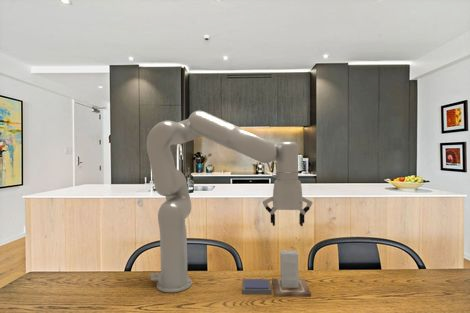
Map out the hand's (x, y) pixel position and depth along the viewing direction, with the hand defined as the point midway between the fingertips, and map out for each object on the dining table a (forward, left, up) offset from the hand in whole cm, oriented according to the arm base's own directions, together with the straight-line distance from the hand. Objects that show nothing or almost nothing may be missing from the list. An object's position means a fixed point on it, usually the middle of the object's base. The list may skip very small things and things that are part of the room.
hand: (287, 225), depth 110 cm
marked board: (+1, -1, -22) cm, 22 cm away
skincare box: (0, 0, -22) cm, 22 cm away
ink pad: (-11, -1, -22) cm, 25 cm away
